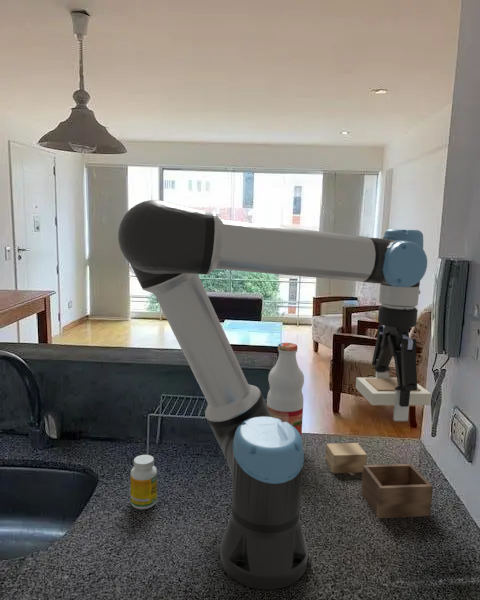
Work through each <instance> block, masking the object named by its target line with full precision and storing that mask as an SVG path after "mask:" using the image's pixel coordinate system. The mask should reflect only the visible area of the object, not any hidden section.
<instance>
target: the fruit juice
mask: <svg viewBox="0 0 480 600" xmlns="http://www.w3.org/2000/svg"><path fill="white" fill-rule="evenodd" d="M277 351H278V356H277V361H276V363H275V365H274V366H273V367H272V368H271V370H270V371H269V373H268V378H267V380H268V384H269V389H268V392H267V397H266V405H267V407H268V409H269V412H270V414H271V416H272V417H273V418H278V419H281V420H282V422H288V423H289V424H291V425H292V426H294V427H295V428H296V429H297V430H298V432H299V433H300V435H301V437H302V433H303V415H304V414H303V413H304V395H303V392H302V389H303V387H304V384H305V376H304V373H303V370H301V368H300V366H299V364H298V362H297V352H298V344H296V343H293V342H280V343H279V344H278V345H277Z"/></svg>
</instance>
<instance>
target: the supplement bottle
mask: <svg viewBox="0 0 480 600" xmlns="http://www.w3.org/2000/svg"><path fill="white" fill-rule="evenodd" d="M129 476H130V477H129V478H130V505H131V506H132V507H133V508H134V509H137V510H147V509H150V508H152V507H154V505H156V503H157V501H158V469H157V467H156V466H155V458H154V457H153V456H152V455H149V454H141V455H137V456H136V457H134V458H133V467H132V469H131V470H130V475H129Z"/></svg>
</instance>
